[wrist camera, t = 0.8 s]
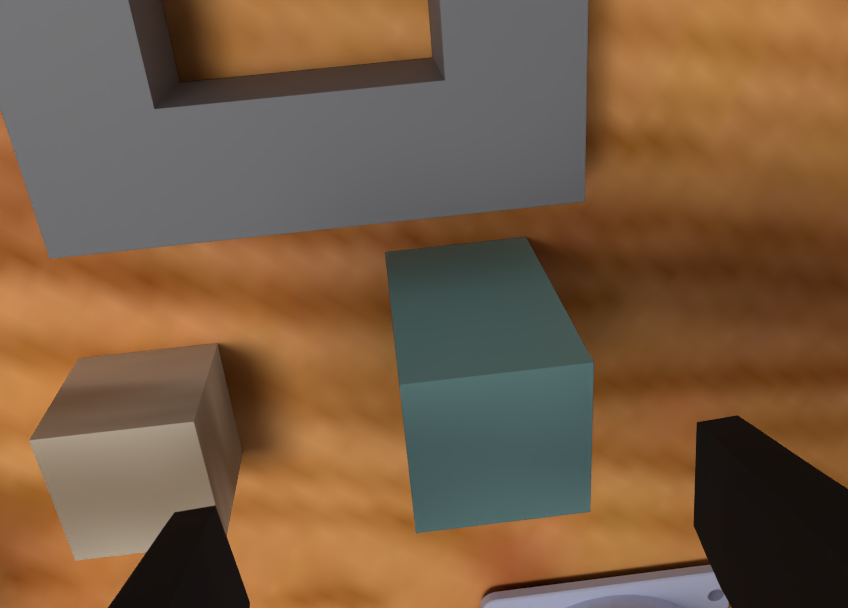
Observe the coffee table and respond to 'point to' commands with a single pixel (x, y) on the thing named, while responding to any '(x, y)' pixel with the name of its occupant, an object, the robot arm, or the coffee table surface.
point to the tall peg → (489, 386)
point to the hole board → (287, 126)
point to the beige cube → (138, 446)
